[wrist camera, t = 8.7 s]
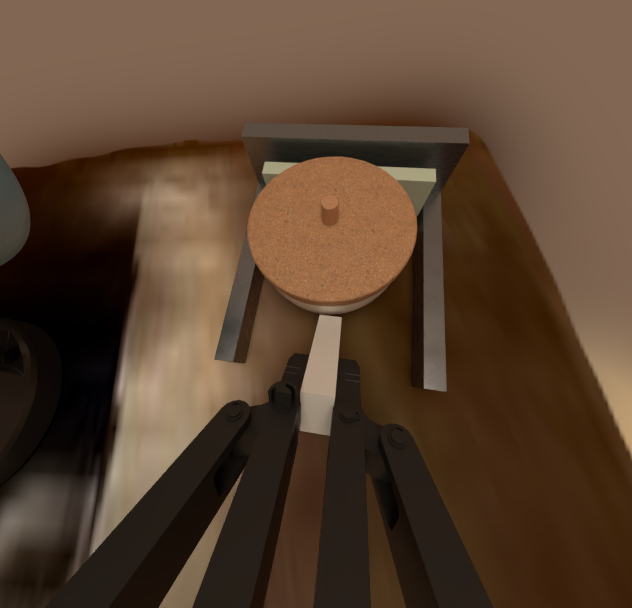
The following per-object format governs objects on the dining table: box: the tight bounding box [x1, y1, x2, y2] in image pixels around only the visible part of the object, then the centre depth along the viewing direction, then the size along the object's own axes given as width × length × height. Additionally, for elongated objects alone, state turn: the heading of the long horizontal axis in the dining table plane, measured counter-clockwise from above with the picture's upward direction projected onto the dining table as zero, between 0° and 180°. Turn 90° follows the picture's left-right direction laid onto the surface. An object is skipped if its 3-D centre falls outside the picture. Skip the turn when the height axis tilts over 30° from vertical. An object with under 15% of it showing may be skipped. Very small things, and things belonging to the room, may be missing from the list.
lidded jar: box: [247, 157, 417, 315], centre depth 17 cm, size 11×11×9 cm
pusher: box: [262, 162, 436, 217], centre depth 20 cm, size 13×1×6 cm, turn 83°
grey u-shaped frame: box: [215, 123, 469, 392], centre depth 18 cm, size 17×18×7 cm
